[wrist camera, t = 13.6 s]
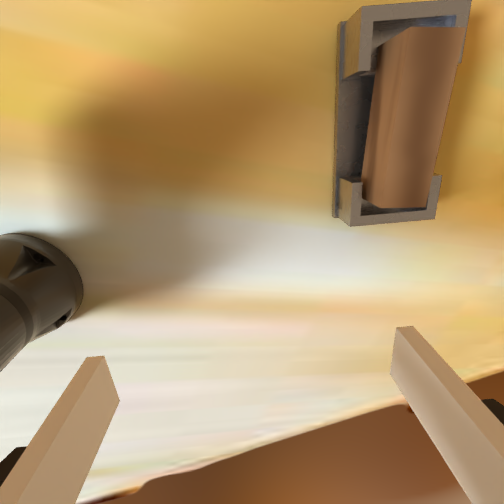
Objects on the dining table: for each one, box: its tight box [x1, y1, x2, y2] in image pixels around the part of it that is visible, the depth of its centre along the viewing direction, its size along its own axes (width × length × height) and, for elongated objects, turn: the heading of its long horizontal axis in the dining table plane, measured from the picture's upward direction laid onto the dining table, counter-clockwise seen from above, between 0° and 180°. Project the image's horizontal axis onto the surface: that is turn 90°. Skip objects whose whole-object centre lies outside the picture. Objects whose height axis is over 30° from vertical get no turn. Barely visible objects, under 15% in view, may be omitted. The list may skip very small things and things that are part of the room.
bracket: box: [332, 0, 472, 227], centre depth 34 cm, size 11×22×6 cm, turn 4°
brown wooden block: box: [361, 27, 466, 208], centre depth 31 cm, size 5×16×6 cm, turn 0°
